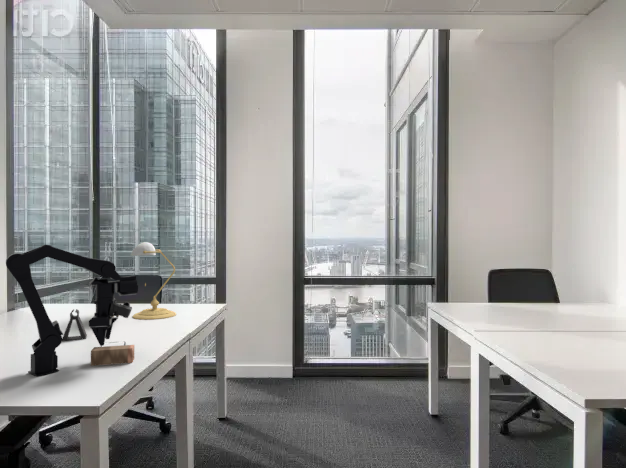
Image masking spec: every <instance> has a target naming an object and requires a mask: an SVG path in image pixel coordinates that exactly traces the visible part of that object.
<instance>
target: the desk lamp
mask: <svg viewBox="0 0 626 468" xmlns="http://www.w3.org/2000/svg"><path fill="white" fill-rule="evenodd" d="M157 254H161V255H162V257H163V258H165V260H166V261H167V262H168V263H169V264H170V265H171V266H172V268H173V270H172V273H171V274H170V276H169V277H168V278H167V279H166V280H165V282H164V283H163V284H162V286H161V287H160V288H159V289H158V291H157V292H156V293H155V295H154V296H153V299H152V300H151V301H150V306H152V308H151V307H150V308H145V309H142V310H141V311H139V312H137V313H134V314H133V315H132V319H135V320H142V321H144V320H145V321H147V320H149V321H150V320H165V319H169V318H173V317H175V316H176V315H177V313H176V312H175V311H172V310H169V309H168V308H164V307H158V306H159V304H160V302H159V301H158V300H157V297H158V294H160V292H161V291H162V289H163V288H164V287H165V286H166V284H167V283H168V282H169V280H170V279H171V278H172V277H173V275H174V274H175V272H176V267H175V265H174V264H173V263H172V262H171V261H170V259H168V257H167V256H166V255H165V254H164V253H163V252H162V250H161V249H157V248H155V246H154V244H152V243H151V242H147V241H144V242H141V243H139V244H137V245H136V246H135V247H134V248H133V250H132V251H131V253H130V255H129V256H131V257H132V256H133V257H134V256H135V257H137V256H138V257H140V256H141V257H142V256H143V257H144V256H145V257H148V256H156V255H157ZM146 286H147V283H144V287H146Z"/></svg>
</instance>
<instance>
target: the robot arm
mask: <svg viewBox="0 0 626 468" xmlns="http://www.w3.org/2000/svg"><path fill="white" fill-rule="evenodd" d="M46 258H50V259H52V260H56V261H60V262H63V263H67V264H70V265H73V266H76V267H79V268H82V269H84V270H88V271H89V272H91V273H93V274H95V275H97V276H99V277H102V278H98V277H96V276H94V277H93V279H92V280H90V281H89V282H88V283H89V284H90V285H92V286H93V285H94V286H95V300H94V303H93V304H94V305H95V312H94V314H93V316H92V318H90V319H89V320H88V327H90V328H89V329H90V330H91V331H92V333H93V334H94V336H95V338H96V340H97V342H98V344H99V347H101V346H103V345H104V343H106V342H105V341H106V340H110V338H111V334H112V329H113V325H114V323H115V322H116V321H117V320H118V319H119V317H122V318H124V319H128V318H129V317H130V315H131V313H132V311H133V307H132V306H131V303H130V302H128V301H125V302H123V303H117V299H116V298H115V293H116V294H118V296H119V297H121V296H132V295H134V296H135V295H137V294H138V292H139V285H138V280H137V276H136V275H127V276H121V275H120V274H119V273H118V272H117V270H116V264H115V263H114V262H113V261H110V260H106V259H105V260H104V259H101V258H99V259H98V258H91V257H86V256H83V255H80V254H78V253H74V252H70V251H67V250H64V249H61V248H57V247H54V246H52V245H50V244H42V245H41V246H39V247H37V248H34V249H31V250H28V251H26V252H23V253H20V252H19V253H18V252H16V253H11V254H10V255H8V256H7V257H6V258H5V266H6V267H7V270H8V271H9V272H10V274H12V276H13V278H14V279H15V281H16V282H17V283H18V284H19V287H20V289H21V290H22V291H21V292H22V293H23V296H24V298H25V300H26V302H27V305H28V307H29V308H30V311H31V314H32V315H33V319H34V320H35V323H36V327H37V332H38V339H36V340H35V342H34V343H33V344H32V345H31V348H32V352H33V353H31V354H30V370H29V371H27V373H28V374H29V375H33V376H34V377H35V376H36V377H39V376H44V375H48V374H52V373H57V372H59V369H58V367H59V366H58V365H59V364H58V362H59V361H58V360H59V359H58V358H59V355H57V351H56V349H57V348H58V347H60V345H61V344H62V342H63V341H62V338H63V336H64V332H63V331H62V330H61V329H60V323H59V322H58V321H57V320H54V321H52V320H51V319H50V317H49V315H48V313H47V310H46V308H45V306H44V303H43V301H42V299H41V297H40V295H39V292H38V290H37V287H36V285H35V283H34V281H33V277H32V270H31V266H30V265H32V264H35V263H37V262H39V261H41V260H43V259H46ZM108 278H109V279H111V280H112V281H111V280H109V279H108Z"/></svg>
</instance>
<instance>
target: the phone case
mask: <svg viewBox="0 0 626 468" xmlns="http://www.w3.org/2000/svg"><path fill="white" fill-rule="evenodd" d="M122 345H127V344H126V341H122V340H121V341H113V342H112V341H111V342H104V345H103V346H100V347H106V346H122Z"/></svg>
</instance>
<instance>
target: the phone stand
mask: <svg viewBox="0 0 626 468" xmlns="http://www.w3.org/2000/svg"><path fill="white" fill-rule="evenodd" d="M74 312H75V313H76V314H77V315H74V314H73V313H74ZM74 320H75V322H76V326H77V329H78V331H79V332H78V333H79V335H75V336H74V335H73V336H69V335H70V331H71V328H72V325H73V321H74ZM87 335H88V334H87V331H86V330H85V328H84V325H83V322H82V320H81V318H80V310H79V309H72V310H71V312H70V313H69V321H68V324H67V326H66V328H65V330H64V332H63V335H62V342H68V341H69V342H70V341H77V340H78V341H80V340H81V341H82V340H86V339H87V337H88V336H87Z"/></svg>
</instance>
